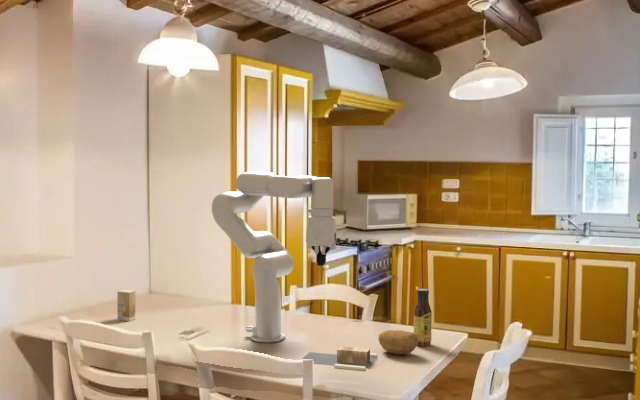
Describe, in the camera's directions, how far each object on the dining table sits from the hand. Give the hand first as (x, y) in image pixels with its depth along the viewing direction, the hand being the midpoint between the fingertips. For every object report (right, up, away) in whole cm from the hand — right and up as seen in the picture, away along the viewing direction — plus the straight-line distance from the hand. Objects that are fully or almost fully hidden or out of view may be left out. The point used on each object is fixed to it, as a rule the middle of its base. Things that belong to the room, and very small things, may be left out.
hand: (321, 265), depth 246 cm
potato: (+26, -30, -6) cm, 40 cm away
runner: (+6, -30, -14) cm, 34 cm away
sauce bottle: (+36, -29, +5) cm, 47 cm away
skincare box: (-81, -27, +46) cm, 97 cm away
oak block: (+6, -28, -14) cm, 32 cm away
